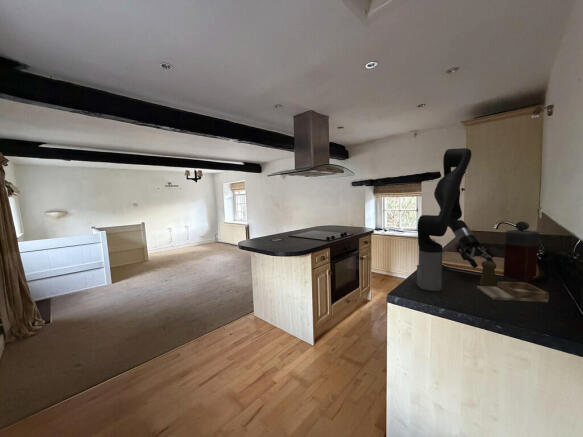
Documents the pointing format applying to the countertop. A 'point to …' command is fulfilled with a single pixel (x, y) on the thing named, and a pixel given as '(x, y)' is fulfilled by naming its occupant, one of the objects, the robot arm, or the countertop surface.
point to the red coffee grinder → (521, 253)
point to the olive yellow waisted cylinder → (488, 274)
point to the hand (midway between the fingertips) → (484, 266)
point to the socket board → (515, 292)
